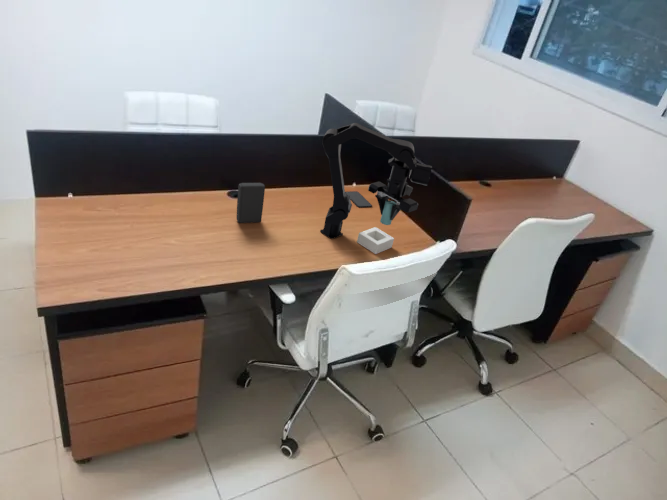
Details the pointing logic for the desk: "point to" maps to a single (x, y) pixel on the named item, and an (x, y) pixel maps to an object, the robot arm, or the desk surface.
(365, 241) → the socket
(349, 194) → the smartphone
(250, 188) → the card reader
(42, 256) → the desk surface
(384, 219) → the peg
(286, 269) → the desk surface
